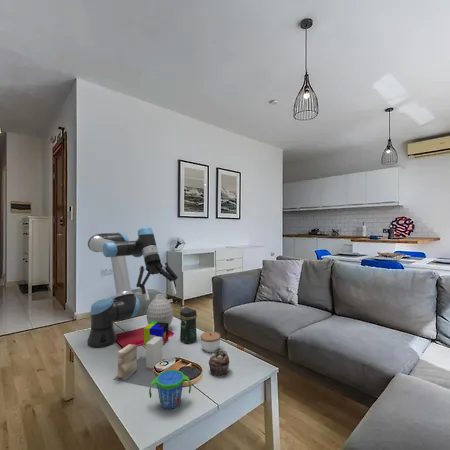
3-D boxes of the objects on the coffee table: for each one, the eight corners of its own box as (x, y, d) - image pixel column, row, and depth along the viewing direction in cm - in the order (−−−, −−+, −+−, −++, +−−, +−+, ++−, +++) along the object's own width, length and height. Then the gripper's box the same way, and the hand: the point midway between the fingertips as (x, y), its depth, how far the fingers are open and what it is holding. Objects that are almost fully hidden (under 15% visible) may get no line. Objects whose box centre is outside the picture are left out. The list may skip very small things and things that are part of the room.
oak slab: (118, 379, 121) (117, 351, 121) (129, 369, 128) (129, 344, 128) (125, 380, 120) (125, 353, 119) (136, 371, 127) (136, 345, 127)
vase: (174, 334, 169) (174, 297, 168) (146, 337, 164) (146, 299, 164) (172, 324, 184) (172, 291, 184) (146, 326, 180) (146, 292, 180)
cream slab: (146, 368, 129) (146, 343, 129) (155, 360, 137) (155, 336, 137) (153, 370, 128) (153, 344, 128) (162, 361, 136) (162, 337, 136)
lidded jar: (208, 356, 141) (208, 338, 141) (196, 349, 150) (196, 332, 149) (224, 350, 148) (224, 333, 148) (212, 343, 156) (212, 327, 156)
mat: (112, 380, 120) (112, 379, 120) (140, 357, 141) (140, 356, 141) (166, 391, 113) (166, 390, 113) (187, 365, 133) (187, 364, 133)
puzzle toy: (161, 347, 151) (160, 329, 151) (144, 346, 153) (144, 328, 153) (168, 340, 161) (168, 322, 161) (152, 338, 163) (152, 321, 163)
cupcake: (231, 368, 131) (231, 347, 130) (226, 379, 121) (226, 356, 121) (212, 365, 133) (212, 344, 133) (205, 376, 124) (205, 353, 124)
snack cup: (146, 414, 100) (146, 386, 100) (152, 395, 110) (152, 370, 110) (190, 412, 101) (190, 384, 101) (191, 393, 112) (191, 368, 111)
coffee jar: (199, 341, 159) (199, 309, 159) (187, 345, 154) (187, 312, 153) (188, 336, 166) (188, 305, 166) (177, 340, 161) (177, 308, 160)
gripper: (128, 256, 128) (137, 300, 121) (176, 250, 143) (188, 289, 136) (124, 262, 134) (133, 305, 126) (171, 256, 149) (182, 294, 141)
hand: (161, 297), depth 131 cm, fingers open, 13 cm apart
